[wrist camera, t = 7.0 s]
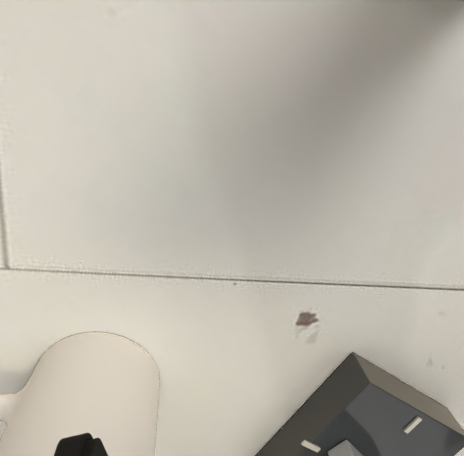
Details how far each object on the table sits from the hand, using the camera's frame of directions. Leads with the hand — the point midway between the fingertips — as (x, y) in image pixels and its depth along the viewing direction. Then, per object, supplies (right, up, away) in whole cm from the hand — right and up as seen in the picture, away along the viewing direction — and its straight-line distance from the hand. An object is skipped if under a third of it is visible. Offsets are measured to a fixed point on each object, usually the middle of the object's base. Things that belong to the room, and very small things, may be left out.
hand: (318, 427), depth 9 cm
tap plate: (+7, -11, +23) cm, 27 cm away
